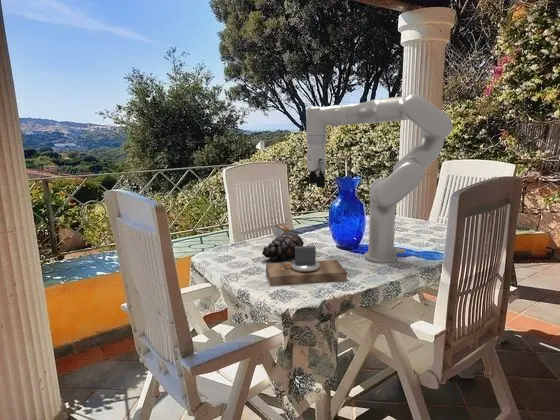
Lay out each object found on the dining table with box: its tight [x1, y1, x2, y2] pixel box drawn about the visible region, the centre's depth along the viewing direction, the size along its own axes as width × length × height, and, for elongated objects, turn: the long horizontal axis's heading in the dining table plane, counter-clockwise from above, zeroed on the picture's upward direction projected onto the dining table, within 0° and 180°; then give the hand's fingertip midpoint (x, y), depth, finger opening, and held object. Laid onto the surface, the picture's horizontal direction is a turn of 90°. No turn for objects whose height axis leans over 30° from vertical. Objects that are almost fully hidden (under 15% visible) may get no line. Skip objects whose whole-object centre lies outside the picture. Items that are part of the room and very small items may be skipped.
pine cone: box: [261, 231, 305, 264], centre depth 159 cm, size 10×18×10 cm, turn 138°
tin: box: [273, 223, 291, 239], centre depth 179 cm, size 15×3×8 cm, turn 22°
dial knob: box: [285, 245, 320, 272], centre depth 140 cm, size 12×10×7 cm
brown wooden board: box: [265, 259, 348, 287], centre depth 141 cm, size 26×13×3 cm, turn 98°
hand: (316, 185), depth 156 cm, fingers open, 9 cm apart
